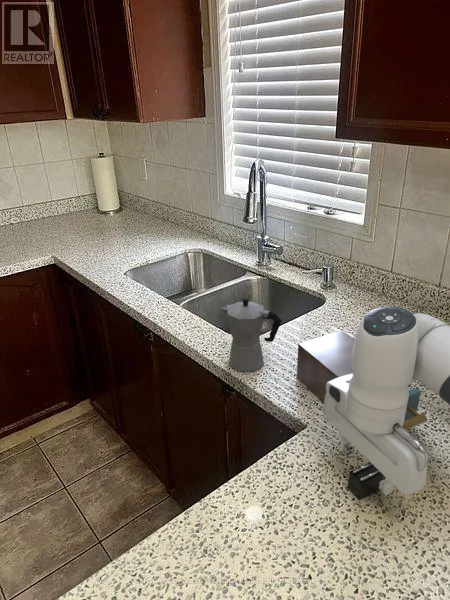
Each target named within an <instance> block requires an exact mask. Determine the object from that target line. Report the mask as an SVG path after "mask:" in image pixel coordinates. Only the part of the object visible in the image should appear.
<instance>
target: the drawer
mask: <svg viewBox="0 0 450 600" xmlns="http://www.w3.org/2000/svg"><path fill="white" fill-rule="evenodd" d="M421 394H422V391H421V390H420V389H419V388H418V387H414V388H411V389H409V399H408V404H407V409H406V414H405V419H404V423H403V426H402V427H403V428H404V429H405V430H407V431H408V430H411V429H413V428H415V427H417V426H419V425H421V424H424V423H426V422H428V417H427V415H426V414H425V413H420V412H418V410H419V409H418V408H419V403H420V399H421Z"/></svg>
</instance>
